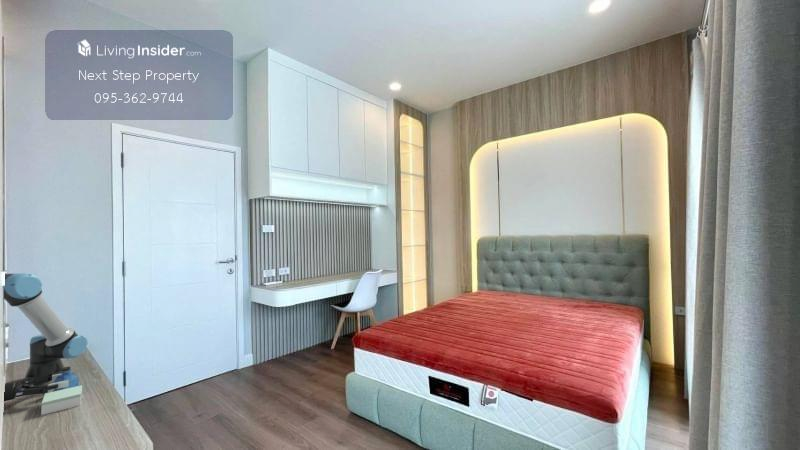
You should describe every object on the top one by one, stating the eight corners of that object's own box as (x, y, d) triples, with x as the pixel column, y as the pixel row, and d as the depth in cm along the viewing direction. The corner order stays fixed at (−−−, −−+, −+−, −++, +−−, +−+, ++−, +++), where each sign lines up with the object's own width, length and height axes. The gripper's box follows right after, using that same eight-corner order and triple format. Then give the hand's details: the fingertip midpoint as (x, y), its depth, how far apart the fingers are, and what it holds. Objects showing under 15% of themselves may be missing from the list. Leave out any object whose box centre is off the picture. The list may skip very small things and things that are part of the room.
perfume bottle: (63, 396, 158) (63, 370, 159) (53, 395, 159) (53, 369, 160) (78, 390, 164) (78, 365, 165) (68, 389, 166) (68, 364, 166)
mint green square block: (45, 404, 150) (45, 393, 151) (81, 395, 158) (82, 385, 159) (41, 415, 141) (41, 403, 142) (80, 405, 149) (80, 393, 150)
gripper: (8, 391, 158) (71, 378, 172) (-5, 412, 139) (67, 395, 153) (9, 375, 158) (71, 363, 172) (-5, 393, 139) (67, 378, 153)
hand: (69, 378), depth 163 cm, fingers open, 13 cm apart
